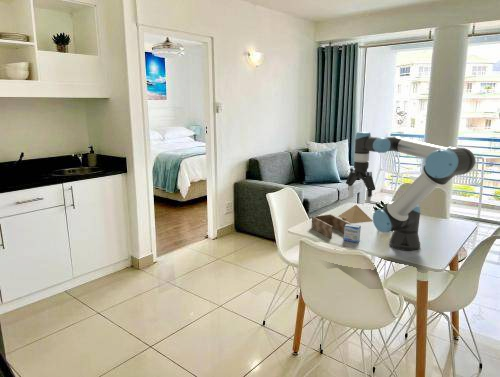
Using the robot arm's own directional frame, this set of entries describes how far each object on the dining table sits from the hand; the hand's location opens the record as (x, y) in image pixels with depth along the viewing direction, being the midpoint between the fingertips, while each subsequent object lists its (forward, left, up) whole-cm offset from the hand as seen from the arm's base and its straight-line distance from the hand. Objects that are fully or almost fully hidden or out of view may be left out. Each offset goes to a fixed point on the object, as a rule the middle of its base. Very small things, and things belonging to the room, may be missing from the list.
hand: (359, 199), depth 208 cm
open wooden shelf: (+14, +8, -22) cm, 27 cm away
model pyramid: (+29, -21, -23) cm, 43 cm away
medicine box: (-3, +5, -22) cm, 23 cm away
